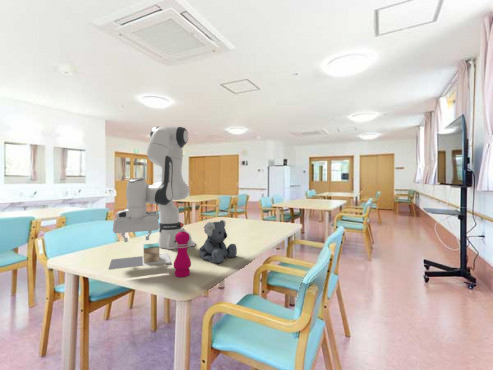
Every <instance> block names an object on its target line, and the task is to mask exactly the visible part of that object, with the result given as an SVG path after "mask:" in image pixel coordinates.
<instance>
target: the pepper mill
mask: <svg viewBox="0 0 493 370" xmlns="http://www.w3.org/2000/svg"><path fill="white" fill-rule="evenodd" d="M185 230H186V229H185V228H183V227H182V228H181V229H180V231H181V232H179V233H177V234H176V236H175V240H176V242H177V244H176V245H177V246H176V247H177V248H176V249H177V253H176V257H175V258H174V261H173V267H174V269H175V270H174V276H175V277H176V278H186V277H188V276H190V274H191V269H190V268H191V266H192V261H191V257H190V256H189V253H188V241H189V239H190V236H189V234H188V233H187V232H188V231H187V232H184V231H185Z"/></svg>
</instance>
